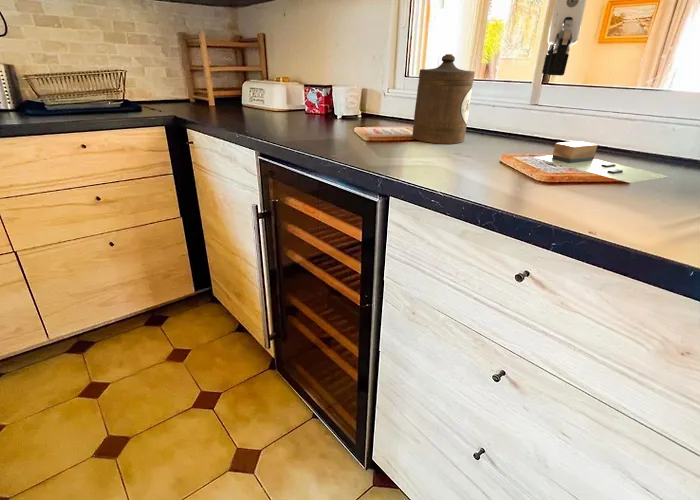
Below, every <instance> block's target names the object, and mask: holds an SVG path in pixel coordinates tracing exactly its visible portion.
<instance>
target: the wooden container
mask: <svg viewBox="0 0 700 500" xmlns="http://www.w3.org/2000/svg"><path fill="white" fill-rule="evenodd" d="M455 61H456V58H455V56H454V55H453V53H452V54H451V53H450V54H449V53H446V54H445V55H443V56H442V57H441V64H439V66H437V67H435V68H427V69H426V68H422V69H421V68H420V69H419V72H418V73H419V74H418V84H417V90H416V91H417V92H416V100H415V108H414V115H413V125H412V126H413V127H412V134H411V135H412V139H414V140H416V141H419V142H423V143H428V144H439V145H440V144H442V145H451V144H461V143H463V142H465V138H466V132H467V127H468V120H469V113H470V105H471V100H472V99H471V98H472V91H473V85H474V84H473V83H474V80H475V74H476V72H475V71H473V70H465V69H460V68H458V67H457V66H456V65H455V64H454V62H455Z"/></svg>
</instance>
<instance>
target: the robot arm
mask: <svg viewBox="0 0 700 500" xmlns="http://www.w3.org/2000/svg"><path fill="white" fill-rule="evenodd" d="M586 4H587V0H555V1H554V5H553V10H552V14H551V19H550V24H549V30H548V36H547V44H548V48H547V52H546V54H545V57H544V62H543V67H542V71H541V73H542V75H547V76H560V77H561V76H564V75H565V73H566V68H567V64H568V60H569V56H570V54H569V53H570V51H571V50H570V49H571V46H572V45H575V44H576V43H577V42H578V41H579V37H580V33H581V27H582V23H583V19H584V14H585V9H586Z"/></svg>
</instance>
